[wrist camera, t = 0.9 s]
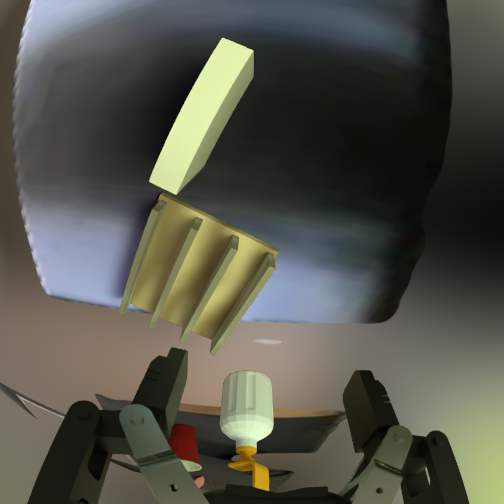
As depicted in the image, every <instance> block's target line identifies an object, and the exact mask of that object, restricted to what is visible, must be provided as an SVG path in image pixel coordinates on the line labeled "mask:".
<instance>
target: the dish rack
mask: <svg viewBox="0 0 504 504" xmlns="http://www.w3.org/2000/svg"><path fill="white" fill-rule="evenodd" d="M278 253H279V252H278V249H277V248H275V247H273V246H271V245H269V244H267V243H265V242H263V241H261V240H259V239H257V238H255V237H253V236H251V235H249V234H247V233H245V232H243V231H241V230H239V229H237V228H235V227H233V226H231V225H229V224H227V223H225V222H223V221H221V220H219V219H217V218H215V217H213V216H211V215H209V214H207V213H205V212H203V211H200V210H198V209H196V208H194V207H192V206H190V205H188V204H186V203H184V202H182V201H180V200H178V199H176V198H174V197H172V196H170V195H168V194H165V193H162V194H160V197H159V199H158V202H157V204H156V206H155V207H154V208H153V209H152V211H151V213H150V216H149V219H148V221H147V224H146V227H145V229H144V232H143V235H142V238H141V241H140V244H139V246H138V249H137V252H136V255H135V258H134V261H133V265H132V268H131V271H130V274H129V277H128V281H127V284H126V287H125V291H124V294H123V298H122V302H121V305H120V309H119V314H120V315H122V316H123V315H124V313H125V312H126V310H127V308H128V306H129V304H130V303H131V304H133V305H135V306H137V307H139V308H141V309H143V310H145V311H147V312H149V313H151V314H154V315H153V318H152V320H151V322H150V325H149V329H151V330H154V328H155V325H156V323H157V320H158V318H159V317H160V318H162V319H164V320H167V321H169V322H171V323H173V324H176V325H178V326H180V327H183V330H182V333H181V337H180V341H179V342H182V343H185V341H186V340H187V338H188V336H189V334H190V332H191V331H192V332H195V333H197V334H199V335H202V336H204V337H207V338H209V339H212V342H211V349H210V354H212V355H214V356H215V354H216V353H217V352H218V350H219V349H220V348H221V346H222V345H223V343H224V342H225V341H226V339H227V338H228V336H229V335H230V334H231V332H232V331H233V329H234V328H235V326H236V325H237V324H238V322H239V321H240V320H241V318H242V317H243V315H244V314H245V312H246V311H247V310H248V308H249V307H250V305H251V304H252V303H253V301H254V300H255V298H256V297H257V295H258V294H259V292H260V291H261V290H262V288H263V287H264V285H265V284H266V282H267V281H268V279H269V278H270V276H271V275H272V274H273V272H274V271H275V269H276V267H275V260H274V259H275V257H276V256H277V254H278Z"/></svg>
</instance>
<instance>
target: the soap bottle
mask: <svg viewBox="0 0 504 504" xmlns="http://www.w3.org/2000/svg"><path fill="white" fill-rule="evenodd" d="M220 426H221V429H222V432H223V433H224V434H226V435H227V436H228V437H229V438H231V439H233V440H235V441H236V452H237V453H238V454H241V458H240V459H238V460H237V462H235V463H229V464H228V466H229V467H231V468H233V469H236V470H238V471H248V470H253V487H256V488H259V489H263V490H267V491H269V473H268V468H266V467H265V466H262V465H260V464H258V463H255V460H254V459H252V458H251V455H252V454H255V453H256V450H257V444H256V442H257V441H259V440H261V439H263V438H265V437H266V436H268V435H269V434H270V433H271V431H272V429H273V404H272V385H271V381H270V379H269V378H268V377H267V376H266V375H264V374H262V373H259V372H256V371H248V370H246V371H238V372H235V373H232V374H230V375H229V376H227V377H226V379H225V381H224V383H223V393H222V404H221V415H220Z"/></svg>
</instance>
